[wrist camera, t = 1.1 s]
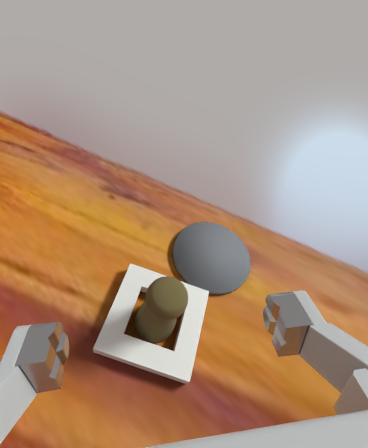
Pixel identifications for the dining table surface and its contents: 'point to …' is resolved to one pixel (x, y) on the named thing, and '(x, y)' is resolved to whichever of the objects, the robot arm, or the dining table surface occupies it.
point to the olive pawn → (161, 309)
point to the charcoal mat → (211, 258)
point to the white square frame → (144, 351)
